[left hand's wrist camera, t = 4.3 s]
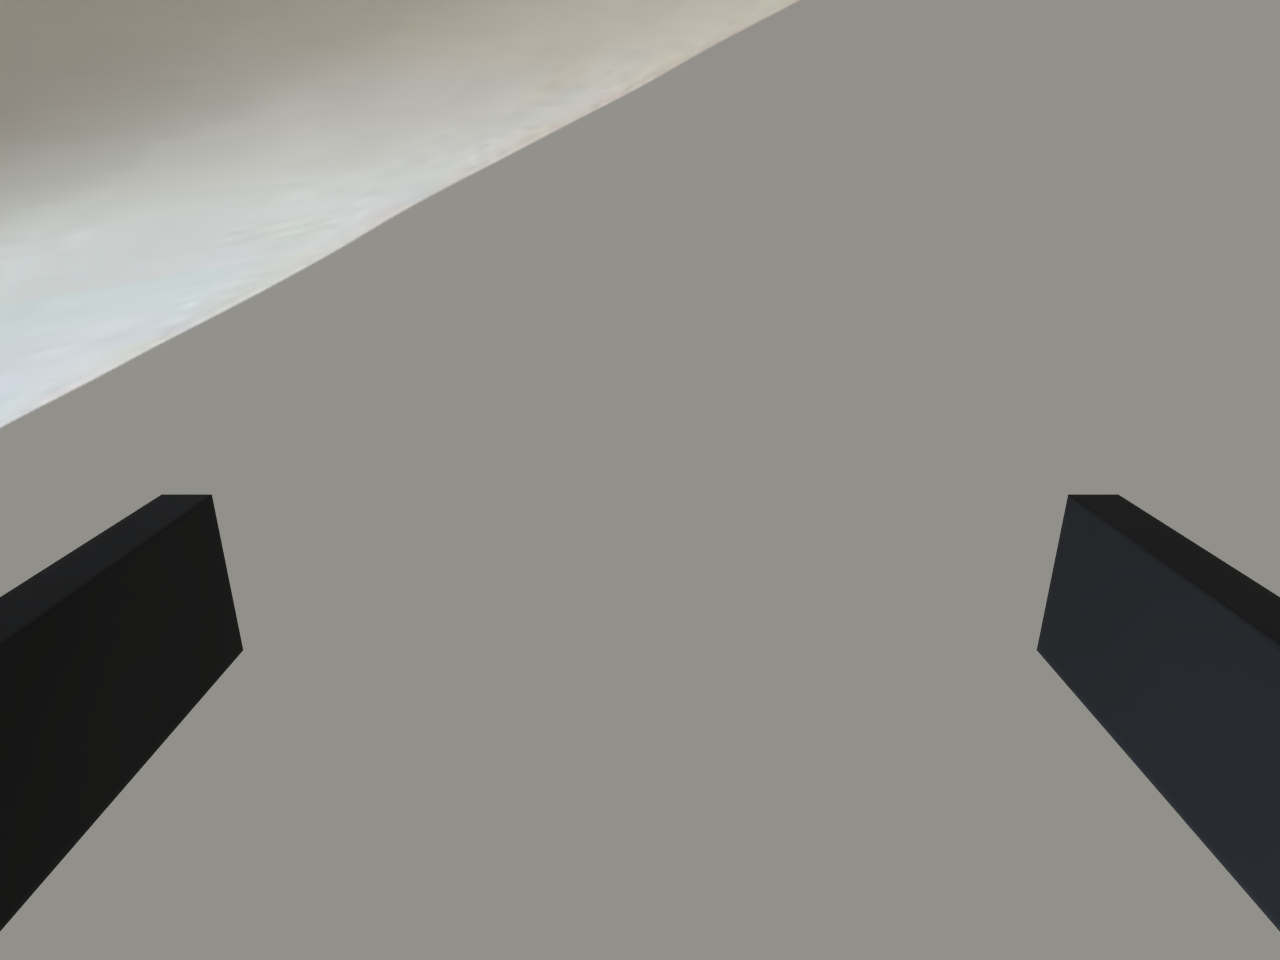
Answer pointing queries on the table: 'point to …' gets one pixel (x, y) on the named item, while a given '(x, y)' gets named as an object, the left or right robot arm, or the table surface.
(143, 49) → the table surface
